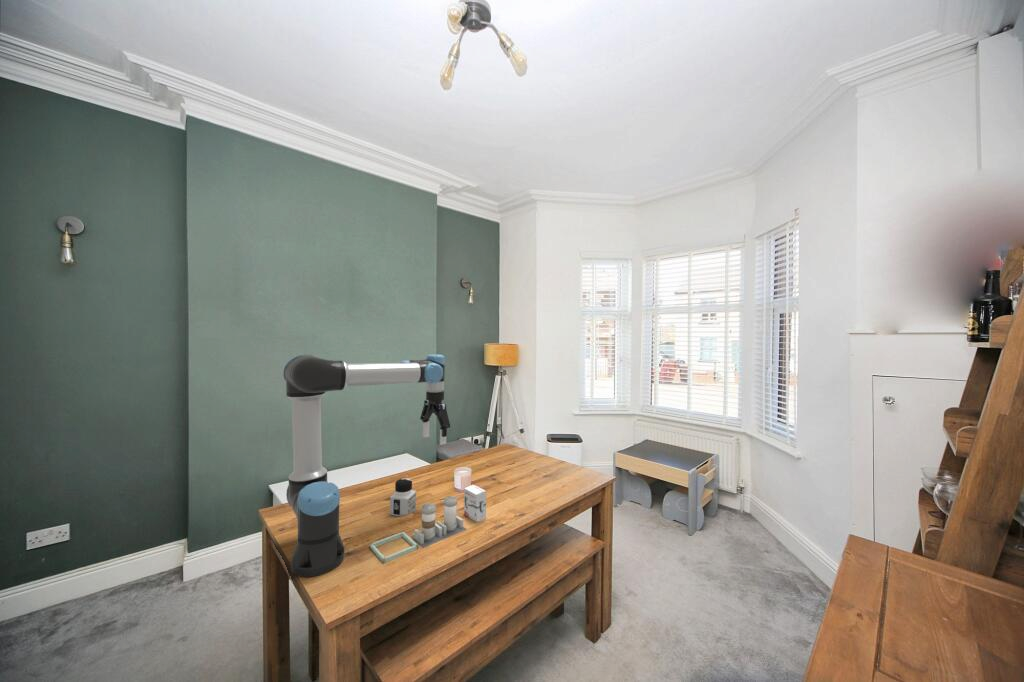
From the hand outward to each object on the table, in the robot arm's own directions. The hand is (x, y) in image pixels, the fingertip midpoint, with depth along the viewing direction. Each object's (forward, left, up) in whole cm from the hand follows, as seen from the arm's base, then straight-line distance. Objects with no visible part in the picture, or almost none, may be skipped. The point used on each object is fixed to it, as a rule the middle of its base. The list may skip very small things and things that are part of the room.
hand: (434, 440), depth 158 cm
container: (-13, +1, -27) cm, 30 cm away
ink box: (+6, -22, -27) cm, 36 cm away
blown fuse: (-16, -24, -26) cm, 38 cm away
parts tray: (-28, -22, -27) cm, 45 cm away
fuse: (-7, -24, -26) cm, 36 cm away
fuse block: (-11, -24, -27) cm, 38 cm away
